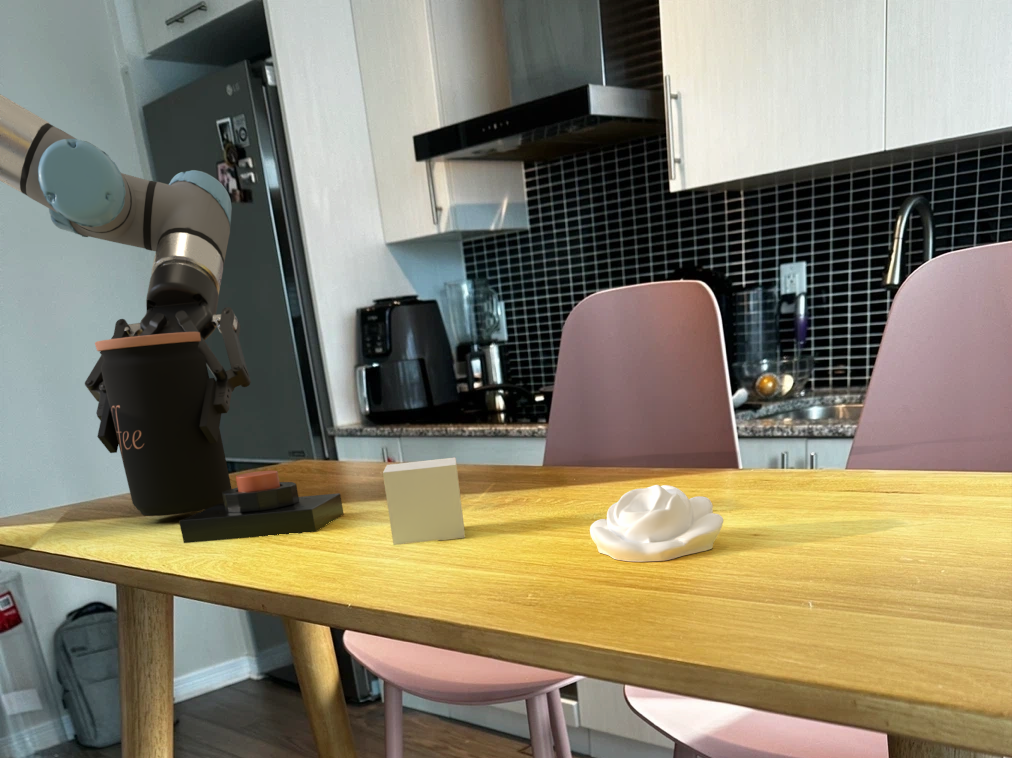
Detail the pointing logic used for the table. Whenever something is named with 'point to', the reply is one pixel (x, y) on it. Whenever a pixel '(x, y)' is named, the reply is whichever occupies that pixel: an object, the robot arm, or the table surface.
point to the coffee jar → (163, 422)
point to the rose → (656, 525)
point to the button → (257, 481)
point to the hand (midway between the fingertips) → (157, 439)
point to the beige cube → (424, 501)
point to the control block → (262, 514)
